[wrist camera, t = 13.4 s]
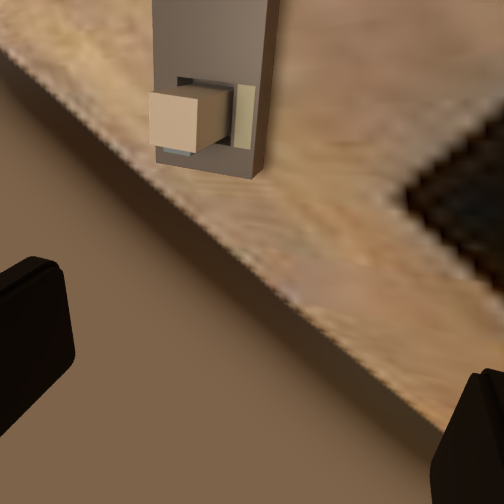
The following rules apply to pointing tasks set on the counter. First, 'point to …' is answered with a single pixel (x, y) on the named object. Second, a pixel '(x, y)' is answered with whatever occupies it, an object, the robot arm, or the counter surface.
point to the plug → (190, 117)
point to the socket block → (220, 72)
